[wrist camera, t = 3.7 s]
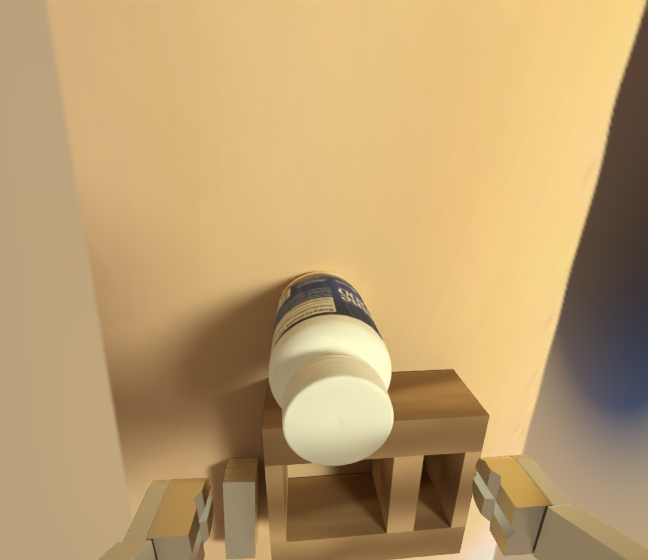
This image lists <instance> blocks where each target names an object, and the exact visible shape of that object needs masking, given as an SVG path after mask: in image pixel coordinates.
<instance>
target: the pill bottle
mask: <svg viewBox="0 0 648 560" xmlns="http://www.w3.org/2000/svg"><path fill="white" fill-rule="evenodd" d="M390 381H391V361H390V357H389V353H388V351H387V348H386V345H385V343H384V341H383V339H382V337H381V335H380V333H379V332H378V330H377V328H376V326H375V324H374V321H373V320H372V318H371V316H370V314H369V312H368V310H367V308H366V306H365V304H364V302H363V300H362V299H361V297H360V295H359V293H358V292H357V290H356V289H355V287H354V286H353V285H352V284H351V283H350V282H349V281H348V280H346V279H345V278H343V277H342V276H340V275H338V274H335V273H331V272H311V273H307V274H305V275H302V276H300V277H298V278H297V279H295V280H294V281H293V282H291V283H290V284H289V285H288V286H287V287H286V289H285V290H284V291H283V293H282V295H281V297H280V300H279V303H278V308H277V313H276V319H275V326H274V333H273V341H272V348H271V355H270V361H269V383H270V388H271V391H272V393H273V396H274V398H275V400H276V401H277V403H278V404H279V406H280V407H281V408H282V427H283V433H284V437H285V439H286V441H287V443H288V445H289V446H290V448H291V449H292V450H293V451H294V452H295V453H296V454H297V455H299V456H300V457H302V458H303V459H305V460H307V461H310V462H312V463H315V464H319V465H326V466H340V465H346V464H351V463H355V462H358V461H360V460H362V459H364V458H366V457H368V456H370V455H371V454H372V453H374V452H375V451H376V450H377V449H379V448H380V447H381V446H382V445H383V443H384V442H385V441H386V439H387V438H388V436H389V434H390V432H391V430H392V426H393V420H394V414H393V407H392V403H391V400H390V397H389V395H388V392H387V390H388V388H389V385H390Z"/></svg>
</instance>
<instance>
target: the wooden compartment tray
mask: <svg viewBox="0 0 648 560" xmlns="http://www.w3.org/2000/svg"><path fill="white" fill-rule="evenodd" d="M387 392H388V395H389V397H390V400H391V403H392V407H393V414H394V420H393V426H392V430H391V432H390V434H389V436H388V438H387V439H386V441H385V442H384V443H383V445H382V446H381V447H380V448H379V449H377V450H376V451H375V452H374V453H372V454H371V455H370V456H368V457H366V458H364V459H372V472H370V473H357V474H343V475H329V476H315V477H301V478H288V470H287V465H292V464H306V463H312V462H310V461H307V460H305V459H303V458H302V457H300V456H299V455H297V454H296V453H295V452H294V451H293V450H292V449H291V448H290V446H289V445H288V443H287V441H286V439H285V437H284V433H283V427H282V408H281V407H280V406H279V404H278V403H277V401H276V400H275V398H274V396H273V393H272V391H271V388H270V383H269V378H268V386H267V393H266V401H265V409H264V416H263V424H262V438H263V451H264V464H265V477H266V490H267V504H268V517H269V530H270V543H271V556H272V560H391V559H402V558H412V557H423V556H433V555H444V554H455V553H460V549H461V544H462V539H463V535H464V530H465V526H466V521H467V516H468V512H469V507H470V503H471V498H472V493H473V491H472V483H473V478H474V477H475V476H476V475H477V470H476V468H475V467H476V462H477V460H478V459H479V458H480V457H481V452H482V447H483V443H484V438H485V434H486V429H487V424H488V420H489V414H488V413H487V412H486V411H485V409H484V408H483V407H482V406H481V404H480V403H479V402H478V400H477V399H476V398H475V397H474V395H473V394H472V393H471V391H470V390H469V389H468V388H467V386H466V385H465V384H464V382H463V381H462V380H461V379H460V377H459V376H458V375H457V374H456V372H455V371H454V370H432V371H411V372H391V381H390V385H389V388H388V390H387ZM424 455H427V461H426V468H425V469H422V465H423V458H424ZM364 459H362V460H364Z"/></svg>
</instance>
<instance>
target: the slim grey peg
mask: <svg viewBox="0 0 648 560" xmlns="http://www.w3.org/2000/svg"><path fill="white" fill-rule="evenodd" d="M223 502H224V525H225V549H226V559H243V558H255V554H256V545H257V536H258V458H232V459H228V462H227V466H226V470H225V475H224V479H223Z"/></svg>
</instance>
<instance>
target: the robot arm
mask: <svg viewBox="0 0 648 560" xmlns="http://www.w3.org/2000/svg"><path fill="white" fill-rule="evenodd" d="M475 468H476V470H477V471H478V474H477V475H476V476H475V477H474V478H473V483H472V491H473V497H474V500H475V503H476V505H477V507H478V509H479V511H480V513H481V515H483V516H484V517H485V518H486V519H488V520H489V521H490V522H491V524H490V531H491V533H492V535H493V537H494V538H495V540H496V542H497V544H498V546H499V548H500V549H501V551H502V553H503V555H504V556H505V555H522V554H534V557H535V558H536V559H538V560H648V549H647V548H645V547H644V546H642V545H640V544H639V543H637V542H636V541H634V540H632V539H631V538H629V537H627V536H626V535H624V534H623V533H621V532H619V531H618V530H616V529H615V528H613V527H611V526H610V525H608V524H607V523H605V522H603V521H601V520H600V519H599V518H597V517H595V516H593V515H592V514H590V513H589V512H587V511H586V510H584V509H582V508H581V507H579V506H578V505H576V504H570V503H569V502H568V501H567V500H566V498H565V497H564V496H563V495H562V494H561V492H560V491H559V490H558V489H557V488H556V487H555V485H554V484H553V483H552V482H551V481H550V479H549V478H548V477H547V476H546V475H545V473H544V472H543V471H542V470H541V469H540V467H539V466H538V465H537V464H536V463H535V462H534V460H533V459H532V458H531V457H529V456H528V455H515V456H499V457H487V458H479V459H478V460H477V462H476V467H475ZM210 488H211V485H210V480H209V478H192V479H172V480H154V482H153V483H152V484H151V485H150V486H149V488H148V490H147V492H146V494H145V497H144V499H143V501H142V503H141V505H140V507H139V509H138V511H137V513H136V515H135V517H134V520H133V522H132V524H131V526H130V528H129V530H128V532H127V534H126V536H125V538H124V541H123V542H119V543H116V544H115V545H114V546H113V547H112V548H111V549H110V550H109V551H107V552H106V553H105V554H104V555H103V556H102V557H101V558H100V559H99V560H204V556H205V554H204V548H203V544H204V543H205V542H206V540H207V539H208V538H209V536H210V531H211V527H212V520H213V499H212V498H211V497H210V496H209V491H210Z"/></svg>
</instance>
